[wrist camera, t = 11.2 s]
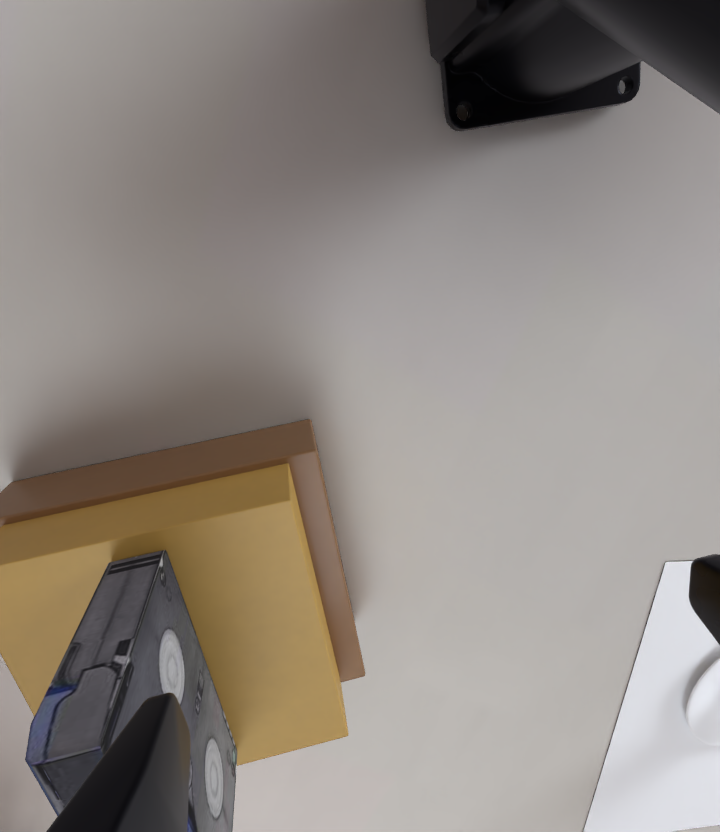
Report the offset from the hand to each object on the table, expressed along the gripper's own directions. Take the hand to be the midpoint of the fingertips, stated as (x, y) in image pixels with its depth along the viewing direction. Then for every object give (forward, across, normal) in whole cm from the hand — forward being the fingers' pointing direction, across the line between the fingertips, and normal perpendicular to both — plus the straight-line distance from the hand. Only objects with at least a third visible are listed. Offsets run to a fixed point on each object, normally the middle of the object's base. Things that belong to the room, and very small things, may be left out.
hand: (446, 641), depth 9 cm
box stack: (+12, +7, +5) cm, 15 cm away
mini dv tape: (+7, +7, +5) cm, 11 cm away
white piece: (+12, -21, +23) cm, 33 cm away
